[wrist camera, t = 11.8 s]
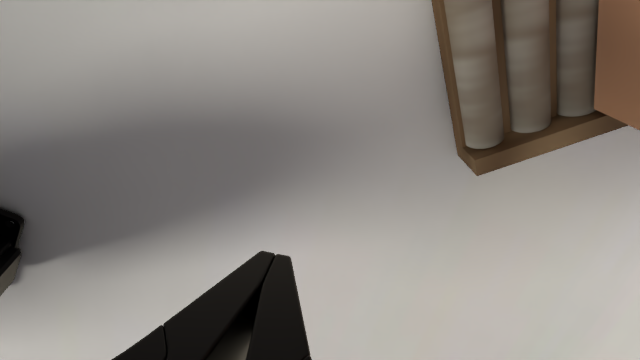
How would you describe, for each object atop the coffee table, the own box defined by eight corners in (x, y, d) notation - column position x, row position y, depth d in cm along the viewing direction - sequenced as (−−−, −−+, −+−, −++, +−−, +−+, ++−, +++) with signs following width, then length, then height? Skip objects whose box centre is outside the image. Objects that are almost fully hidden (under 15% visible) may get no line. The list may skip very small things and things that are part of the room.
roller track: (457, 155, 22) (512, 214, 17) (417, -81, 16) (484, -102, 11) (712, 67, 21) (855, 103, 16) (772, -225, 15) (1041, -325, 10)
